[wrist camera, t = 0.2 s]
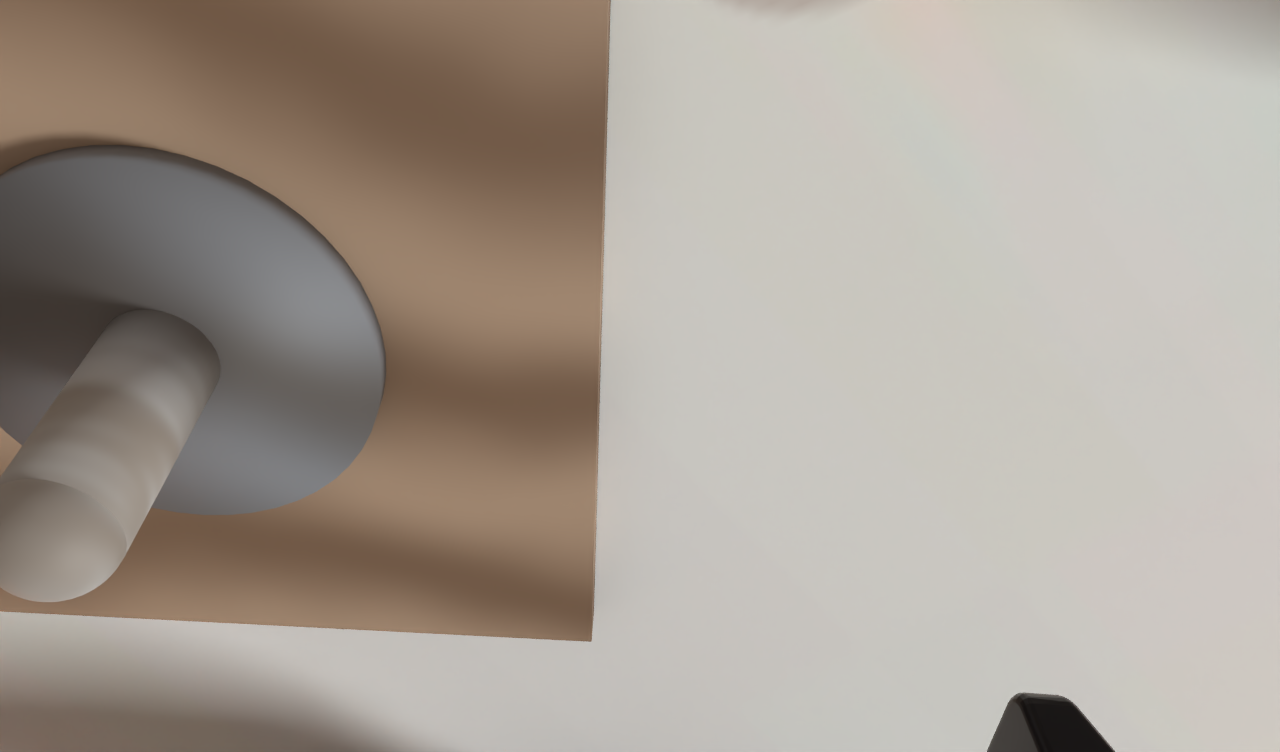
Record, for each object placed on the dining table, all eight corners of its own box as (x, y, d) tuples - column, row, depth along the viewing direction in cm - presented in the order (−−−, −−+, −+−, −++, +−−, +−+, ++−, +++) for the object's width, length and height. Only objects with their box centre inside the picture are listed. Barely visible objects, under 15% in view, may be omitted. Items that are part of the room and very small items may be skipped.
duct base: (593, 611, 30) (570, 896, 24) (-83, 576, 30) (-282, 853, 24) (612, -97, 19) (580, 87, 13) (-450, -154, 19) (-993, 5, 13)
